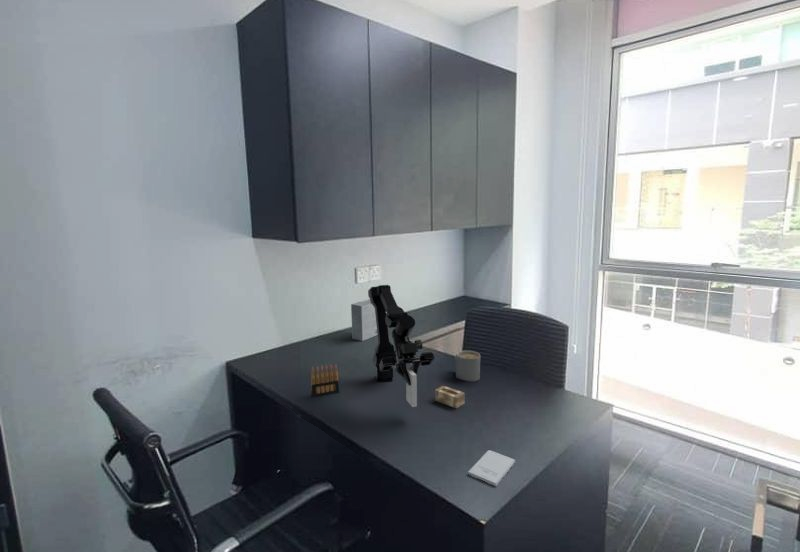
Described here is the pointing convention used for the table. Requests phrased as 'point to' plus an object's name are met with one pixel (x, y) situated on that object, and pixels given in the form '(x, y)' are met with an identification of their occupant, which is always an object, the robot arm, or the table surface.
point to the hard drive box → (363, 320)
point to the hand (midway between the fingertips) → (412, 384)
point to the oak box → (450, 396)
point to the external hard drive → (491, 467)
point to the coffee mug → (468, 365)
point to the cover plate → (412, 389)
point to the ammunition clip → (324, 381)
